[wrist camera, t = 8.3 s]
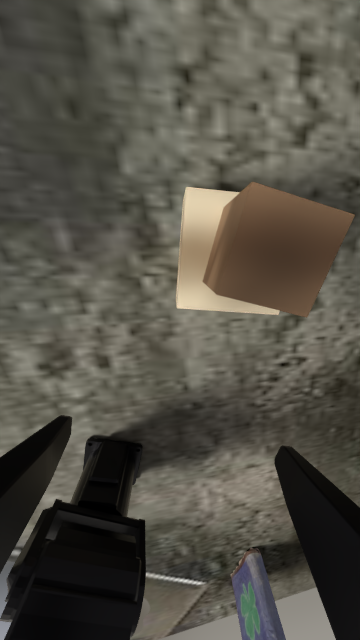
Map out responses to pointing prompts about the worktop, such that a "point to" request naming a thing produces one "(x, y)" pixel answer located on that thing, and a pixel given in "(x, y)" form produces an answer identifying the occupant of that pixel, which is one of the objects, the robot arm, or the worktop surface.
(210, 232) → the beech block
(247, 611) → the flask
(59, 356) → the worktop surface
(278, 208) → the walnut cube
